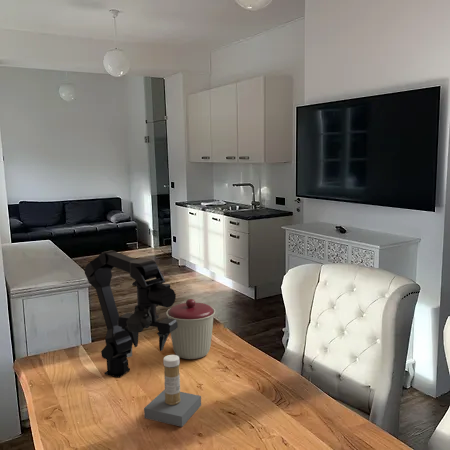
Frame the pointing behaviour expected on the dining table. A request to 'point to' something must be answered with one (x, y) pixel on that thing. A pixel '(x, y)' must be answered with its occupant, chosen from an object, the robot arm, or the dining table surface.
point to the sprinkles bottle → (172, 379)
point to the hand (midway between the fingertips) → (148, 348)
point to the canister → (192, 329)
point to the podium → (172, 409)
